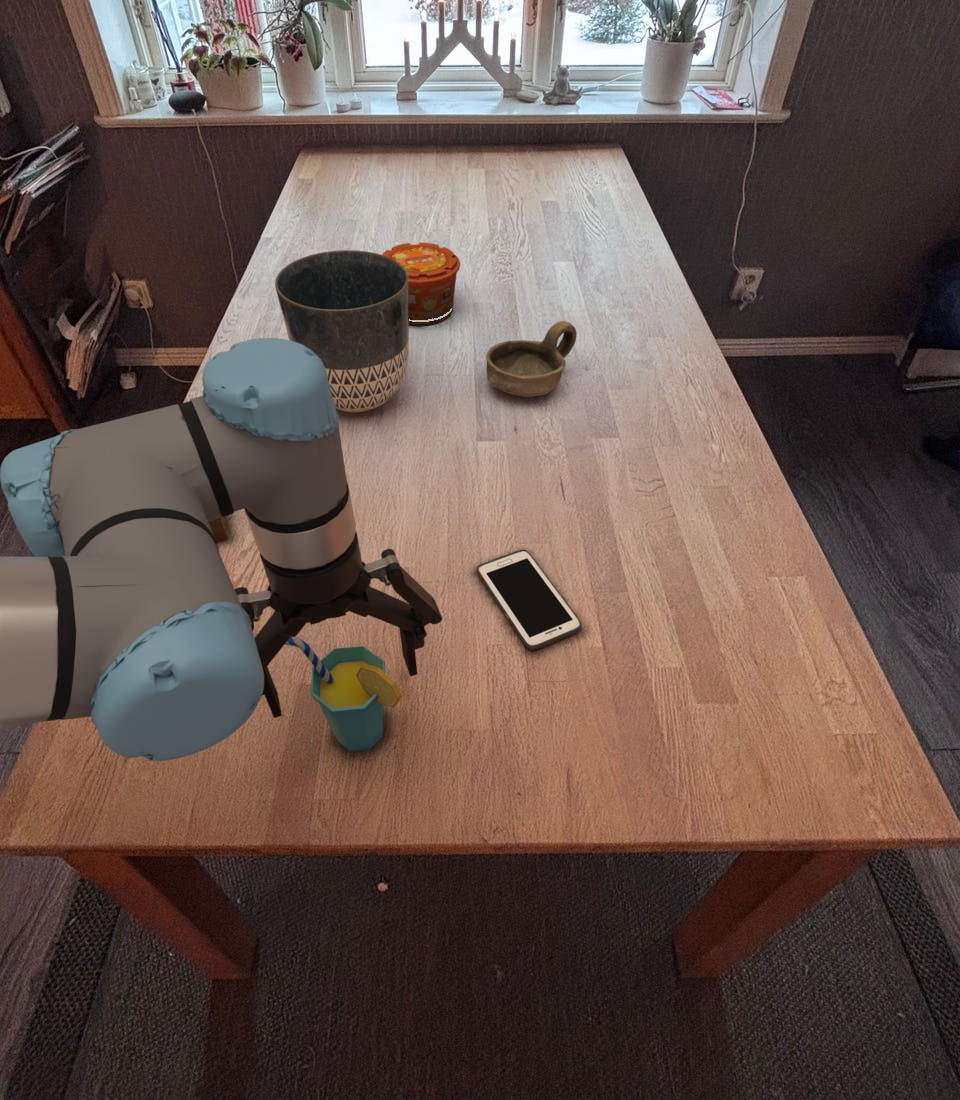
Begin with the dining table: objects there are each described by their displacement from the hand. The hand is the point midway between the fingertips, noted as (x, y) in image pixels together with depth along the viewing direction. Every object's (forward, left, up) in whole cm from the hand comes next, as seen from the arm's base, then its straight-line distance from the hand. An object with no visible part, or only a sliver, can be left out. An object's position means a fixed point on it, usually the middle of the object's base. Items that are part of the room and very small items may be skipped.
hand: (344, 684), depth 68 cm
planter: (+15, +60, -9) cm, 62 cm away
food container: (+34, +87, -9) cm, 94 cm away
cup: (0, 0, -9) cm, 9 cm away
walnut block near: (-12, +36, -9) cm, 39 cm away
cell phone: (+25, +10, -9) cm, 28 cm away
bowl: (+45, +55, -9) cm, 71 cm away
